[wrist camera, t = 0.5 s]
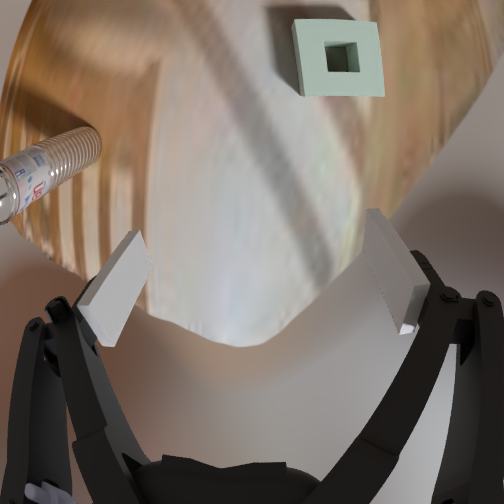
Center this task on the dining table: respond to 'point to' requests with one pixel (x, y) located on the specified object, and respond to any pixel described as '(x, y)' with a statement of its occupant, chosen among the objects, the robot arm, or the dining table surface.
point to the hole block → (358, 55)
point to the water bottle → (45, 168)
